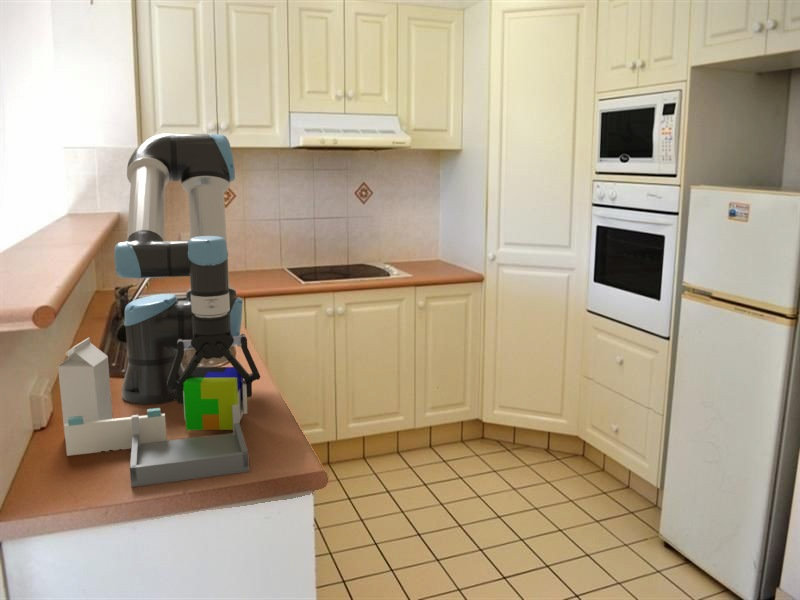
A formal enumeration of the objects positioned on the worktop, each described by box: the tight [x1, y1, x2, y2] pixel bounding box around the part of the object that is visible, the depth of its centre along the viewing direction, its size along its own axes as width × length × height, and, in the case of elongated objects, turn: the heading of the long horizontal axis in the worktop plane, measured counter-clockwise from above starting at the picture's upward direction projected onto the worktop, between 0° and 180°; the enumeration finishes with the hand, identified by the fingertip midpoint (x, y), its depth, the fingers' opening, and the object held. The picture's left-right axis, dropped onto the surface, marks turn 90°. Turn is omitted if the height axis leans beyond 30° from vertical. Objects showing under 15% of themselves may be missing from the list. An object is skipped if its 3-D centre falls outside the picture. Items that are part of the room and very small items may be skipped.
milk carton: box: [57, 337, 114, 435], centre depth 144 cm, size 7×7×19 cm
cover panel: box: [63, 407, 168, 457], centre depth 137 cm, size 1×18×7 cm, turn 108°
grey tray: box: [129, 404, 250, 488], centre depth 132 cm, size 16×20×7 cm
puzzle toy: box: [184, 366, 244, 431], centre depth 147 cm, size 10×10×10 cm
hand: (216, 414), depth 148 cm, fingers closed on puzzle toy, 11 cm apart
